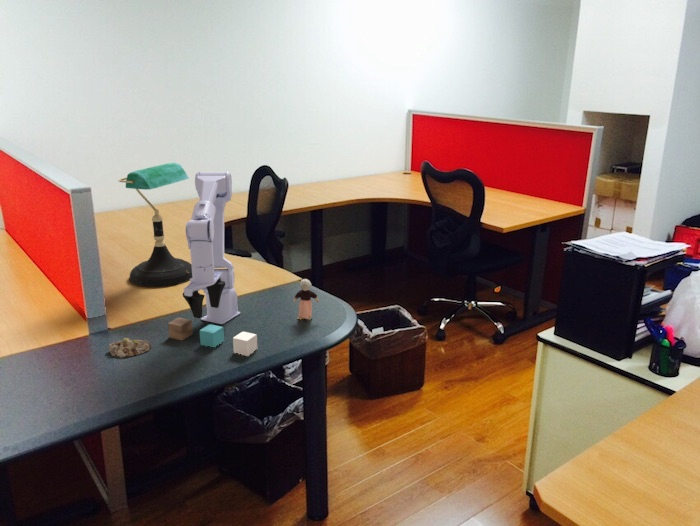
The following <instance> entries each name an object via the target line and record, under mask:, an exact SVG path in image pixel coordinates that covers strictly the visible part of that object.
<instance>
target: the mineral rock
mask: <svg viewBox="0 0 700 526" xmlns="http://www.w3.org/2000/svg"><path fill="white" fill-rule="evenodd" d="M108 345H109V348H108V349H109V350H108V351H109V353H110V355H111V356H112V357H113V356H114V357H115V358H116V357H117V358H121V359H123V358H126V357H133V356H137V355H142V354H144V353H145V352H149V350H151V349H152V346H151V345H152V344H151V343H150V341H148V340H146V339H145V340H141V339H132V340H131V339H130V338H128V337H123V339H122V340H119V341H115V342H112V343H109V344H108Z"/></svg>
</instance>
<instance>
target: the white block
mask: <svg viewBox="0 0 700 526" xmlns="http://www.w3.org/2000/svg"><path fill="white" fill-rule="evenodd" d="M232 346H233V353H234V354H236V353H238V354H237V355H240V354H241V356H246V357H250V354H251V355H252V354H253V353H255V352H256V351H257V350H258V335H257V333H256V334H255V333H252V332H248V331H241V332H240V333H238V334H237V335H235V336H233V337H232ZM256 349H257V350H256ZM255 350H256V351H255ZM254 351H255V352H254Z"/></svg>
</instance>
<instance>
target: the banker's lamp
mask: <svg viewBox="0 0 700 526" xmlns="http://www.w3.org/2000/svg"><path fill="white" fill-rule="evenodd" d="M188 179H189V176H188V174H187V172H186V171H185V169H184V168H183V166H182V165H181V164H179V163H176V162H168V163H164V164H159V165H154V166H151V167H146V168H143V169H137V170H134V171H131V172H129V173H128V174H127V176H126V177H123V178H120V179H118V182H119V183H125V188H126V189H133V190H135V191H136V192H137V193H138V194H139V195H140V196H141V198H142V199H143V200H144V201H145V202H146V203H147V204H148V205H149V206H150V208H151V209H153V211H154V212H153V213H154V215H153V216H152V218H151V222H152V230H153V238H154V240H155V242H154V246H153V250H152V252H151V255H150V256H149V258H148V260H145V261H142V262H140V263H139V264H137V265H136V266H134V267H133V268H132V269H131V271H130V273H129V281H130V283H132V284H134V285H136V286H138V287H144V288H145V287H146V288H160V287H161V288H163V287H171V286H176V285H180V284H183V283H186V282H188V281H190V279H191V278H193V277H192V266H191V262H188V261H186V260H184V259H182V258H180V257H179V258H178V257H175V256H173V255H172V253H171V252H170V251H169V249H168V247H167V246H166V242H165V241H164V239H165V235H164V234H165V233H164V224H163V221H164V219H163V216H162V215H160V212H159V211H160V210H159V209H157V208H156V207H155V206H154V205H152V203H151V202H150V201H149V200H148V198H147V197H146V196H145V195H144V194H143V193H142V192H141V191H140V190H146V191H147V190H154V189H159V188H162V187H164V186H168V185H171V184H175V183H178V182H182V181H185V180H188Z"/></svg>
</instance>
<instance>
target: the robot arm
mask: <svg viewBox="0 0 700 526" xmlns="http://www.w3.org/2000/svg"><path fill="white" fill-rule="evenodd" d="M232 181H233V180H232V175H231V172H230V171H229V170H226V171H199V170H198V171H197V172H196V173H195V177H194V186H195V190H196V192H197V195H198V197H199V201H197V202H196V203H195V205H194V207H193V211H192V215H191V218H190V219H189V221H186V224H185V238H186V240H187V246H188V250H189V251H190V252H189V253H190V264H191V266H192V277H193V278H191V279H190V280H189V283H188V285H187V286H186V287H184V288H183V293H182V297H183V299H184V300H185V301H186V302H187V304H188V306H189V308H190V310H191V313H192V315H193V317H194V318H195V319H200V320H201V321H205V322H210V323H214V324H218V325H223V324H225V323H227V322H229V321H231V320H232V319H234V318H235V317H237V316H239V315H240V314H241V311H239V307H238V294H237V290H236V289H235V288H234V287H235V279H236V278H235V271H234V267H235V266H234V265H233V263H232V262H231V261H230V260H228V259H227V258H225V207H226V203H228V202H230V201H232V198H233V197H232V195H233V190H232V189H233V187H232V186H233V182H232ZM200 290H202V291H203V293H204V294H202V293H200V292H199V291H200ZM204 299H205V304H206V305H205V306H206V315H205V316H203V304H204Z"/></svg>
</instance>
